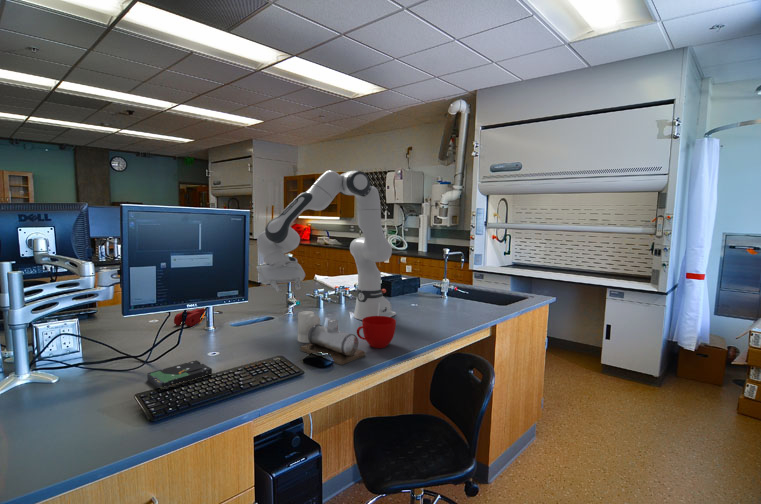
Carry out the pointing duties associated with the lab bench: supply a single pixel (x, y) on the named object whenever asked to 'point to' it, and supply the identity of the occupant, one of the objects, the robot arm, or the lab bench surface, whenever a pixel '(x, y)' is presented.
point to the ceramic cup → (378, 330)
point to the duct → (333, 343)
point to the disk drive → (178, 374)
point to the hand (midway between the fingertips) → (289, 289)
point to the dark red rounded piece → (189, 317)
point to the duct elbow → (306, 324)
